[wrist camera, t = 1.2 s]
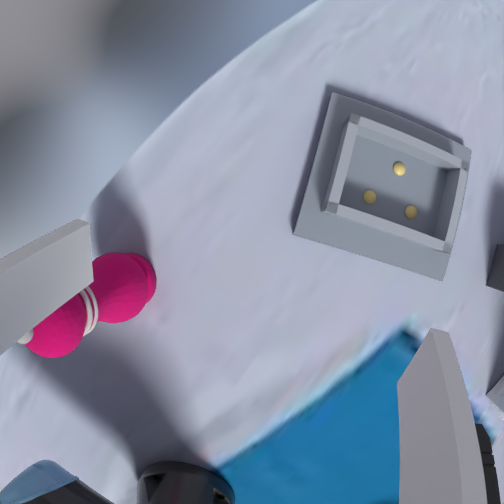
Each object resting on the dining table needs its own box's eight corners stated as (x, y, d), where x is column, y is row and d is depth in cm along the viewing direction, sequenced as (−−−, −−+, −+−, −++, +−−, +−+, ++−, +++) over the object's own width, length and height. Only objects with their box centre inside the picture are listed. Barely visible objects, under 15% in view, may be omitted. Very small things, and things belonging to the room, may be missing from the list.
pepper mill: (124, 236, 35) (-4, 255, 15) (172, 274, 35) (68, 334, 15) (96, 284, 36) (-25, 333, 16) (141, 322, 36) (38, 404, 16)
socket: (436, 279, 33) (455, 286, 29) (292, 234, 34) (295, 236, 29) (465, 152, 31) (485, 145, 27) (330, 96, 32) (337, 80, 28)
